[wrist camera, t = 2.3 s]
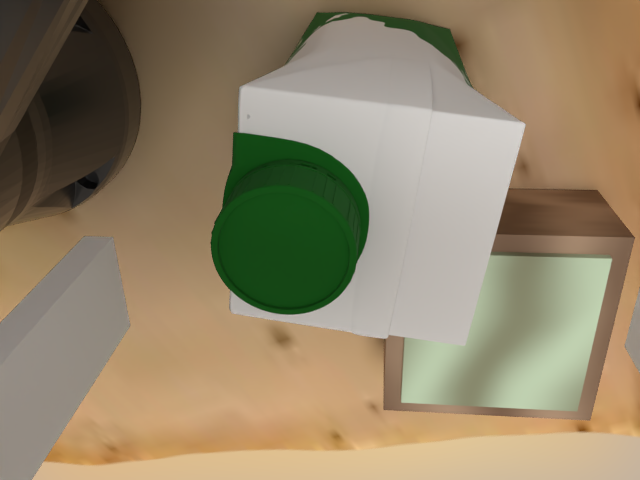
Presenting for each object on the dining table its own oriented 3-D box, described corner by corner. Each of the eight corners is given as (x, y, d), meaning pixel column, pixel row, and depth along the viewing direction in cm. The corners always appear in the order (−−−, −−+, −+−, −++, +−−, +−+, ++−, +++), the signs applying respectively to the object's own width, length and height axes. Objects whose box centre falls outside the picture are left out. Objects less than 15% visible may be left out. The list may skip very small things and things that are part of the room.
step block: (383, 348, 42) (383, 414, 36) (389, 186, 37) (390, 235, 31) (563, 356, 41) (592, 425, 35) (597, 190, 35) (637, 241, 30)
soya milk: (301, -9, 32) (197, 77, 14) (473, 13, 32) (584, 128, 14) (287, 150, 36) (194, 368, 18) (440, 170, 36) (493, 412, 18)
